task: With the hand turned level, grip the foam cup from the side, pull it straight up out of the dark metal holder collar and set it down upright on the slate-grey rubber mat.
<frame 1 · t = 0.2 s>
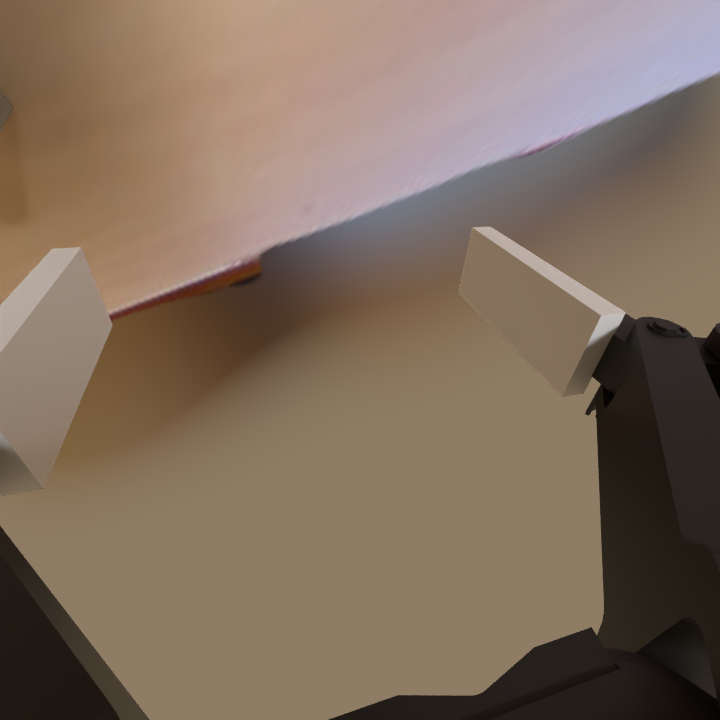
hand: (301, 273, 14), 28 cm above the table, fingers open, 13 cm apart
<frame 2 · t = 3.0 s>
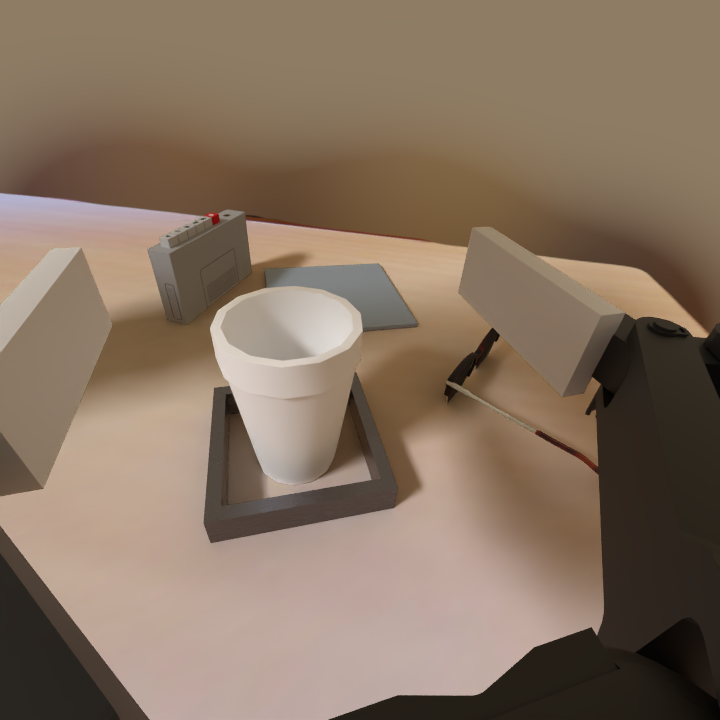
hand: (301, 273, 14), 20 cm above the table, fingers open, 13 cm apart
holder collar: (297, 452, 33), on the table
foam cup: (297, 454, 33), resting in holder collar
rubber mat: (334, 296, 54), on the table
sunglasses: (538, 415, 39), on the table
cassette player: (214, 295, 53), on the table
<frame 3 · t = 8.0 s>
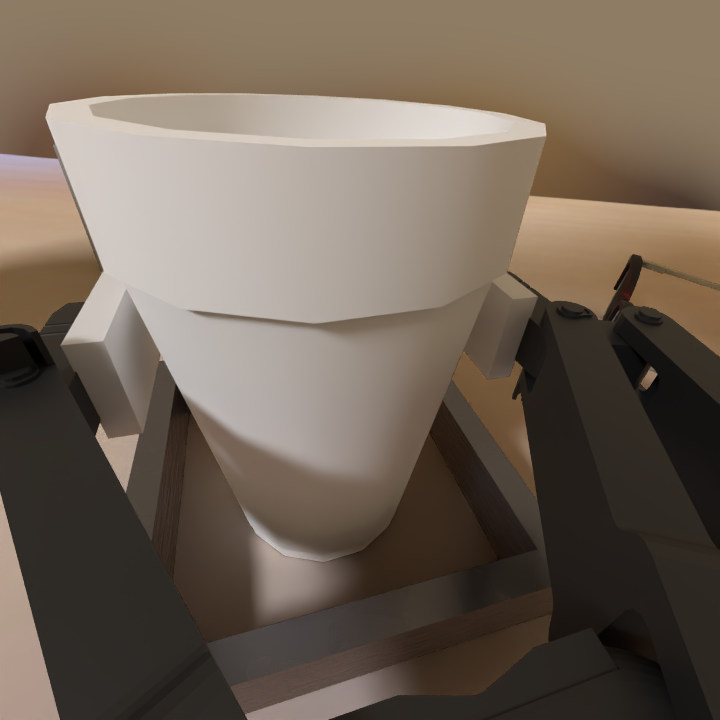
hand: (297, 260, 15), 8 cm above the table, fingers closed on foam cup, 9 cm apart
holder collar: (322, 483, 16), on the table
foam cup: (322, 486, 16), resting in holder collar, touching gripper
cassette player: (179, 245, 36), on the table
when the fingers open (10 cm above the table, at t = 14.6 s): foam cup drops 1 cm, resting on rubber mat.
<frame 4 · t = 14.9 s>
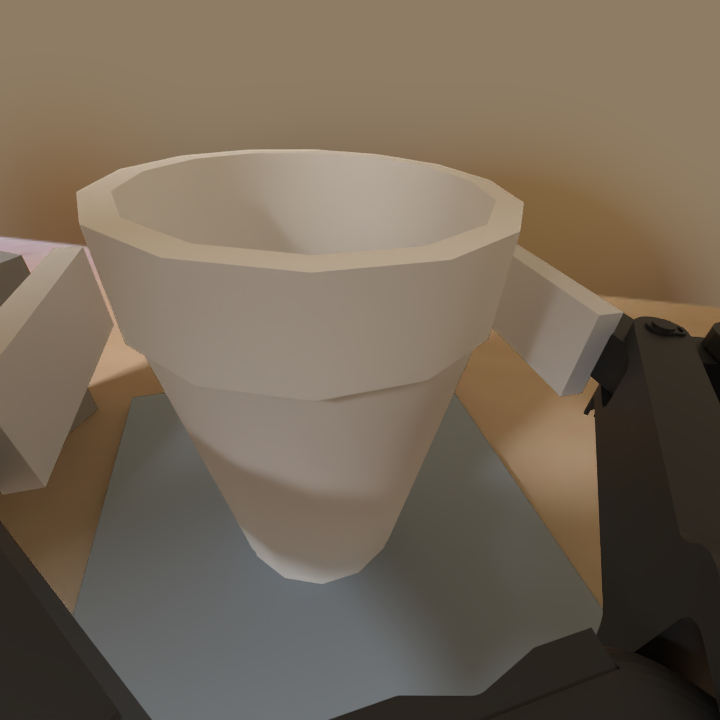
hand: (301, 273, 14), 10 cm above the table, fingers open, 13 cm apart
foam cup: (321, 508, 17), resting on rubber mat
rubber mat: (323, 510, 17), on the table
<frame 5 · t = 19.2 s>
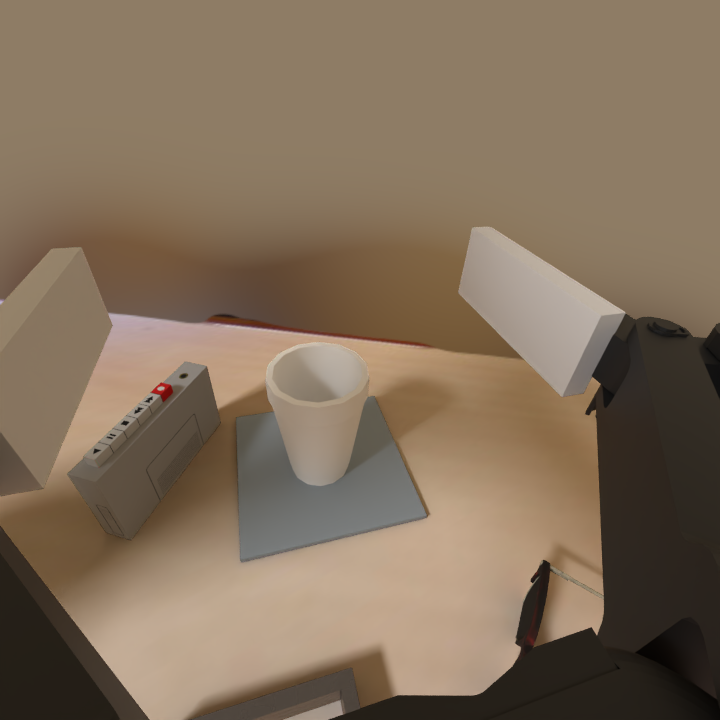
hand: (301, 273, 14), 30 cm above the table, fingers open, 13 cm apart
foam cup: (320, 462, 43), resting on rubber mat
rubber mat: (321, 463, 44), on the table
cassette player: (171, 471, 42), on the table
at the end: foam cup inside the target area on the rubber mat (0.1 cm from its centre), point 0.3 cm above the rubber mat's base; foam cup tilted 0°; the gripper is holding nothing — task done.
